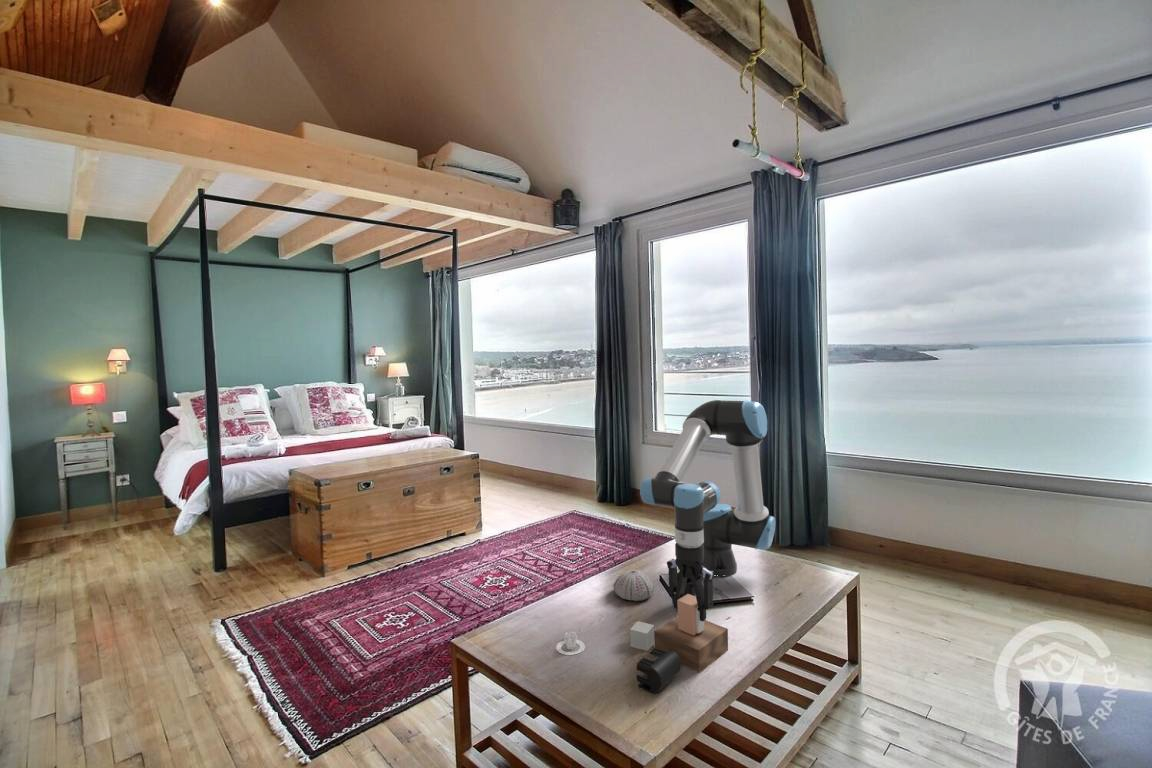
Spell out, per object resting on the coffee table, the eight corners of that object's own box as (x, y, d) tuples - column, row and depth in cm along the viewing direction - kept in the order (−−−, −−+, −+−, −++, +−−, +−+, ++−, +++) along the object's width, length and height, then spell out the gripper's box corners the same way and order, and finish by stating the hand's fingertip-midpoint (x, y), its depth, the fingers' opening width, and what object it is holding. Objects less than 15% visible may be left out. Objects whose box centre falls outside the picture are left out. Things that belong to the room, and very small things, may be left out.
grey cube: (637, 638, 157) (637, 621, 157) (654, 642, 155) (653, 625, 154) (630, 646, 153) (630, 629, 153) (647, 651, 150) (646, 633, 150)
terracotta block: (688, 621, 153) (687, 593, 152) (704, 628, 149) (703, 599, 148) (678, 628, 149) (677, 600, 148) (693, 635, 146) (693, 606, 145)
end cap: (661, 699, 130) (661, 671, 130) (636, 688, 134) (635, 661, 134) (682, 678, 138) (681, 652, 137) (657, 668, 142) (656, 643, 142)
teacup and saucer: (566, 637, 160) (565, 623, 159) (591, 643, 156) (590, 629, 156) (550, 652, 152) (550, 638, 152) (576, 659, 148) (576, 644, 148)
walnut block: (684, 632, 159) (683, 612, 159) (728, 650, 149) (727, 628, 149) (654, 652, 150) (654, 630, 149) (699, 673, 140) (699, 650, 139)
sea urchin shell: (629, 582, 194) (628, 560, 193) (662, 593, 185) (661, 570, 184) (605, 596, 184) (605, 573, 183) (639, 608, 175) (638, 583, 174)
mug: (693, 621, 165) (693, 590, 165) (664, 606, 175) (663, 577, 174) (711, 612, 171) (710, 582, 170) (681, 598, 180) (681, 570, 179)
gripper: (653, 539, 151) (655, 621, 153) (711, 555, 138) (713, 645, 140) (669, 532, 156) (671, 611, 158) (727, 547, 144) (728, 633, 145)
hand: (691, 627), depth 149 cm, fingers closed on terracotta block, 5 cm apart
